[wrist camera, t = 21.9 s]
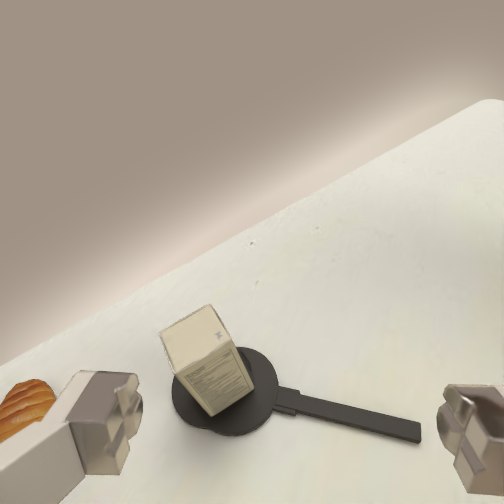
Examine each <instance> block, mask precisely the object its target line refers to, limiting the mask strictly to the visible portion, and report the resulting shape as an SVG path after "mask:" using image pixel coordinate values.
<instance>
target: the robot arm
mask: <svg viewBox="0 0 504 504" xmlns="http://www.w3.org/2000/svg"><path fill="white" fill-rule="evenodd" d="M138 386H139V381H138V376H137V374H135V373H123V372H107V371H85V370H80V371H79V372H77V373H76V374H75V375H74V376H73V377H72V379H71V380H70V382H69V383H68V384H67V386H66V387H65V389H64V390H63V391H62V393H61V394H60V395H59V397H58V398H57V400H56V401H55V402H54V404H53V405H52V407H51V408H50V409H49V411H48V412H47V413H46V415H45V416H44V418H43V419H42V420H41V422H33V423H32V424H30V425H29V426H27V427H25V428H24V429H22V430H21V431H19V432H18V433H16V434H15V435H13V436H11V437H10V438H8V439H7V440H5V441H4V442H2V443H0V504H59V503H60V502H61V501H62V500H63V499H64V498H65V497H66V496H67V495H68V494H69V493H70V492H71V491H72V490H73V489H74V488H75V487H76V486H77V485H78V484H79V483H80V482H81V481H82V480H83V479H84V478H85V475H120V473H121V470H122V468H123V465H124V463H125V461H126V458H127V456H128V453H129V451H130V447H129V442H128V440H129V439H131V438H132V437H133V436H134V435H135V434H136V433H137V431H138V428H139V426H140V423H141V418H142V413H143V401H142V396H141V395H140V394H139V393H138V392H137V391H136V390H137V388H138ZM443 396H444V398H445V400H446V403H445V404H443V405H442V406H441V407H439V409H438V413H437V417H436V418H437V429H438V432H439V436H440V439H441V441H442V443H443V445H444V447H445V448H446V449H447V450H448V451H450V452H451V453H452V454H453V455H454V456H455V460H454V464H453V465H454V467H455V469H456V471H457V473H458V475H459V477H460V479H461V481H462V483H463V485H464V487H465V489H466V491H467V493H471V494H483V495H496V496H504V385H489V386H488V385H464V384H449V385H448V386H447V387H446V388H445V390H444V393H443Z"/></svg>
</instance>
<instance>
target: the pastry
mask: <svg viewBox="0 0 504 504" xmlns="http://www.w3.org/2000/svg"><path fill="white" fill-rule="evenodd" d="M55 401H56V398H55V395H54V393H53V390H52V389H51V387H50V386H48V385H47V383H46V382H44V381H41V380H38V379H32V380H29V381H26V382H23V383H18V384H16V385H15V386H14V387H13V388H12V390H11V391H9V392H8V394H7V395H6V397H5V399H4V400H3V402H2V404H1V405H0V443H2V442H4V441H5V440H7V439H8V438H10V437H11V436H13V435H15V434H16V433H18V432H19V431H21V430H22V429H24V428H25V427H27V426H29V425H30V424H32V423H33V422H41V420H42V419H43V418H44V416H45V415H46V413H47V412H48V411H49V409H50V408H51V407H52V405H53V404H54V402H55Z"/></svg>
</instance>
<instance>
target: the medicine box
mask: <svg viewBox="0 0 504 504" xmlns="http://www.w3.org/2000/svg"><path fill="white" fill-rule="evenodd" d="M159 336H160V339H161V341H162V345H163V347H164V351H165V353H166V356H167V359H168V361H169V364H170V367H171V369H172V372H173V374H174V375H175V376H176V377H177V378H178V380H179V381H180V382H181V383H182V384H183V385H184V387H185V388H186V389H187V390H188V391H189V392H190V394H191V395H192V396H193V397H194V398H195V399H196V400H197V402H198V403H199V404H200V405H201V406H202V408H203V409H204V410H205V411H206V412H207V413H208V414H209V415H210V416H211V417H212V416H214V415H215V414H217V413H219V412H220V411H222V410H223V409H225V408H227V407H228V406H230V405H231V404H233V403H234V402H236V401H237V400H239V399H240V398H242V397H243V396H245V395H246V394H247V393H249V392H250V391H252V390H253V389H254V386H253V383H252V381H251V379H250V377H249V375H248V373H247V370H246V368H245V366H244V364H243V362H242V360H241V358H240V356H239V354H238V351H237V349H236V347H235V345H234V343H233V341H232V338H231V336H230V334H229V333H228V331H227V329H226V327H225V325H224V324H223V322H222V320H221V319H220V317H219V315H218V314H217V312H216V311H215V309H214V308H213V306H212V305H211V304H207V305H205V306H204V307H202V308H200V309H198V310H196V311H194V312H193V313H191V314H189V315H187V316H186V317H184V318H182V319H180V320H179V321H177V322H175V323H173V324H172V325H170V326H168V327H167V328H165V329H164V330H162V331H160V332H159Z"/></svg>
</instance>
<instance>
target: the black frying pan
mask: <svg viewBox="0 0 504 504" xmlns="http://www.w3.org/2000/svg"><path fill="white" fill-rule="evenodd" d="M236 349H237V351H238V354H239V356H240V358H241V360H242V362H243V364H244V366H245V368H246V370H247V373H248V375H249V377H250V379H251V381H252V383H253V386H254V389H253V390H252V391H250V392H249V393H247V394H246V395H245V396H243V397H242V398H240V399H239V400H237V401H236V402H234V403H233V404H231V405H230V406H228V407H227V408H225V409H223V410H222V411H220V412H219V413H217V414H215V415H214V416H212V417H211V416H210V415H209V414H208V413H207V412H206V411H205V410H204V409H203V408H202V406H201V405H200V404H199V403H198V402H197V400H196V399H195V398H194V397H193V396H192V395H191V394H190V392H189V391H188V390H187V389H186V388H185V387H184V385H183V384H182V383H181V382H180V381H179V380H178V378H177V377H176V376H174V379H173V383H172V399H173V403H174V406H175V408H176V410H177V412H178V413H179V415H180V416H181V417H182V418H183V419H184V420H185V421H186V422H188V423H189V424H191V425H193V426H195V427H198V428H202V429H211V430H213V431H214V432H216V433H219V434H222V435H226V436H239V435H243V434H246V433H249V432H251V431H253V430H255V429H257V428H258V427H259V426H261V425H262V424H263V423H264V422H265V421H266V420H267V419H268V417H269V416H270V415H271V413H272V411H273V410H274V411H278V412H281V413H285V414H289V415H293V416H295V415H296V412H297V413H301V414H305V415H309V416H313V417H317V418H321V419H325V420H329V421H333V422H337V423H341V424H345V425H349V426H352V427H356V428H360V429H364V430H368V431H372V432H376V433H380V434H384V435H388V436H392V437H396V438H400V439H404V440H407V441H411V442H415V443H420V442H421V424H420V423H419V422H414V421H410V420H406V419H402V418H398V417H393V416H389V415H385V414H381V413H376V412H372V411H368V410H364V409H360V408H355V407H351V406H347V405H343V404H339V403H334V402H330V401H326V400H322V399H317V398H313V397H309V396H305V395H301V394H300V391H299V390H294V389H290V388H286V387H281V386H278V379H277V375H276V372H275V370H274V368H273V366H272V364H271V363H270V361H269V360H268V359H267V358H266V357H265V356H264V355H262V354H261V353H259V352H258V351H256V350H253V349H250V348H245V347H236Z"/></svg>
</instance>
